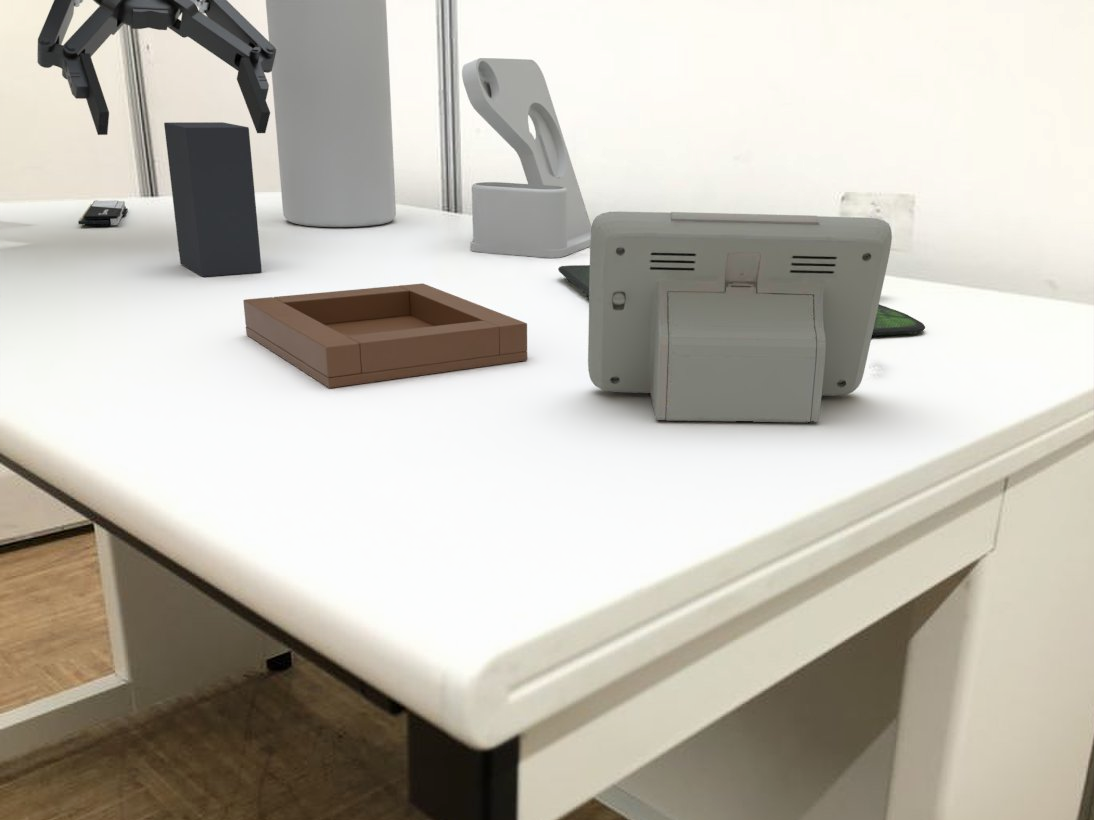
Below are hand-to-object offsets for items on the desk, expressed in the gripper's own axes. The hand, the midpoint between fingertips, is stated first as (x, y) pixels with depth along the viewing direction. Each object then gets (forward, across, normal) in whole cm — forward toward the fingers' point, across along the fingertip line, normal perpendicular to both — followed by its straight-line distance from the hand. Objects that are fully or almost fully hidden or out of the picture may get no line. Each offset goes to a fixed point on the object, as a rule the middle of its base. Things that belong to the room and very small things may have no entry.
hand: (186, 123), depth 97 cm
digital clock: (+51, -12, +34) cm, 63 cm away
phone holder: (+13, -33, -4) cm, 36 cm away
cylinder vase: (-4, -21, -21) cm, 30 cm away
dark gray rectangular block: (+13, 0, -4) cm, 13 cm away
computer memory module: (-13, +2, -30) cm, 32 cm away
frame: (+36, 0, +20) cm, 41 cm away
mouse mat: (+36, -30, +19) cm, 51 cm away
